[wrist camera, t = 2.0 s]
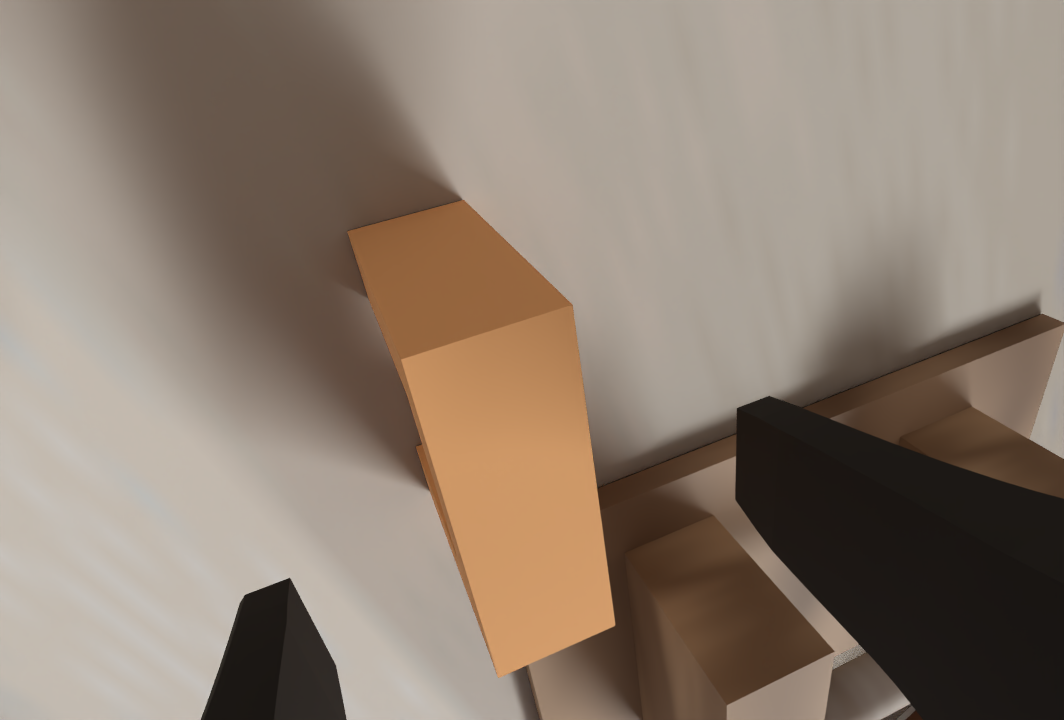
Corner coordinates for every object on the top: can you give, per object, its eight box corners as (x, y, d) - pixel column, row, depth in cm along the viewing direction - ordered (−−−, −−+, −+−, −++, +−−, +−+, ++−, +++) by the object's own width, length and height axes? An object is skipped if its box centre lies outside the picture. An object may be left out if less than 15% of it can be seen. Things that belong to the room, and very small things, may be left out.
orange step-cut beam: (430, 492, 17) (498, 677, 12) (347, 231, 13) (400, 360, 8) (518, 459, 17) (615, 625, 13) (463, 199, 13) (572, 304, 9)
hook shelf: (553, 772, 25) (625, 956, 20) (489, 530, 18) (577, 724, 13) (966, 569, 29) (1105, 680, 25) (1042, 313, 22) (1255, 400, 18)
